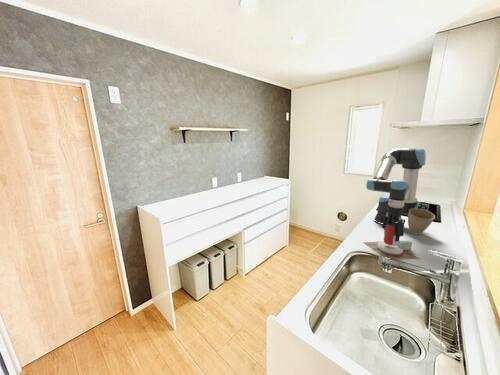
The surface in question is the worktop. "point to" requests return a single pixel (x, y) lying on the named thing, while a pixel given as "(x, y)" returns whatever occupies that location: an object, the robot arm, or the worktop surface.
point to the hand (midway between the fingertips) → (390, 242)
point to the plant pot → (419, 220)
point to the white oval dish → (394, 247)
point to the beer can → (389, 234)
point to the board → (395, 257)
